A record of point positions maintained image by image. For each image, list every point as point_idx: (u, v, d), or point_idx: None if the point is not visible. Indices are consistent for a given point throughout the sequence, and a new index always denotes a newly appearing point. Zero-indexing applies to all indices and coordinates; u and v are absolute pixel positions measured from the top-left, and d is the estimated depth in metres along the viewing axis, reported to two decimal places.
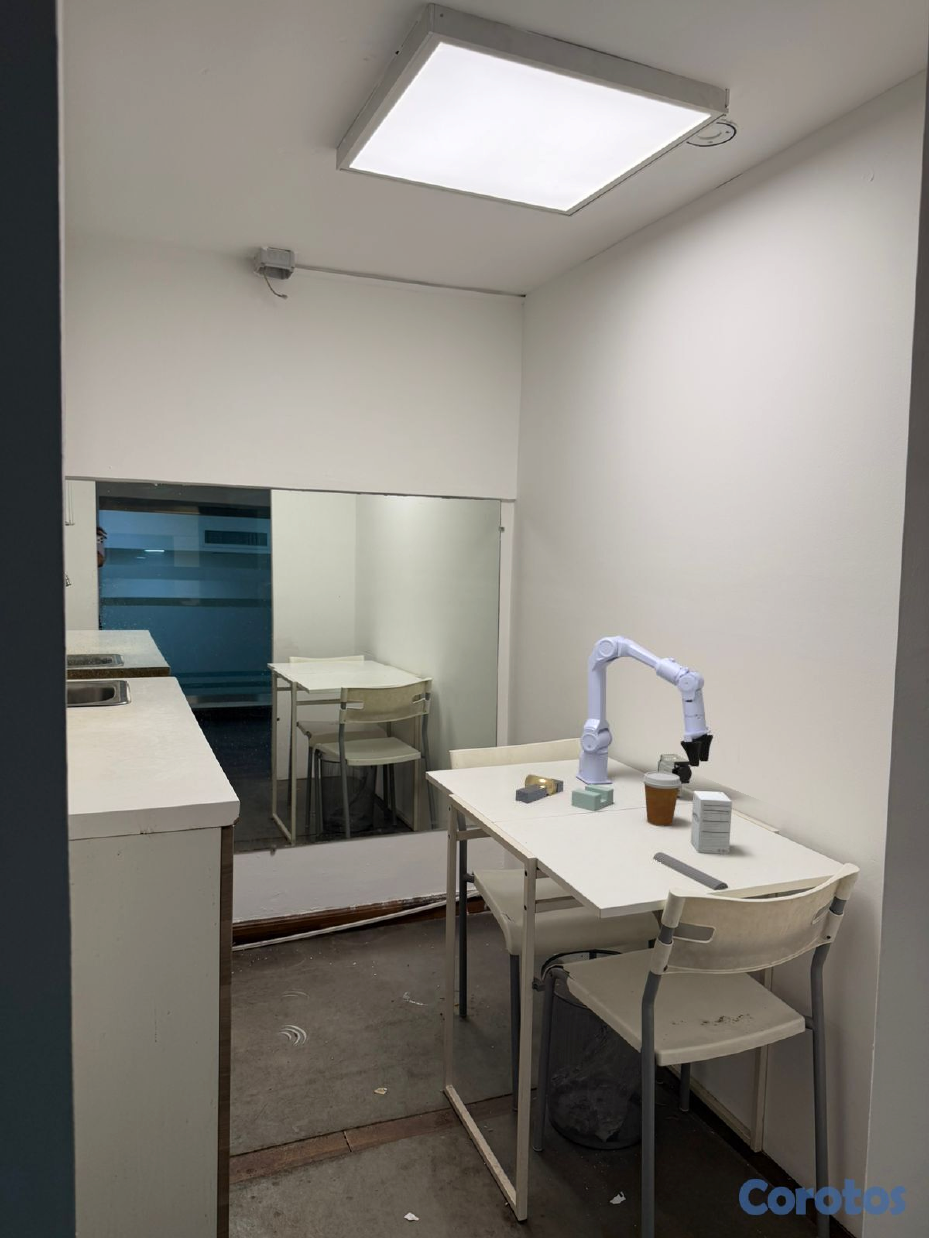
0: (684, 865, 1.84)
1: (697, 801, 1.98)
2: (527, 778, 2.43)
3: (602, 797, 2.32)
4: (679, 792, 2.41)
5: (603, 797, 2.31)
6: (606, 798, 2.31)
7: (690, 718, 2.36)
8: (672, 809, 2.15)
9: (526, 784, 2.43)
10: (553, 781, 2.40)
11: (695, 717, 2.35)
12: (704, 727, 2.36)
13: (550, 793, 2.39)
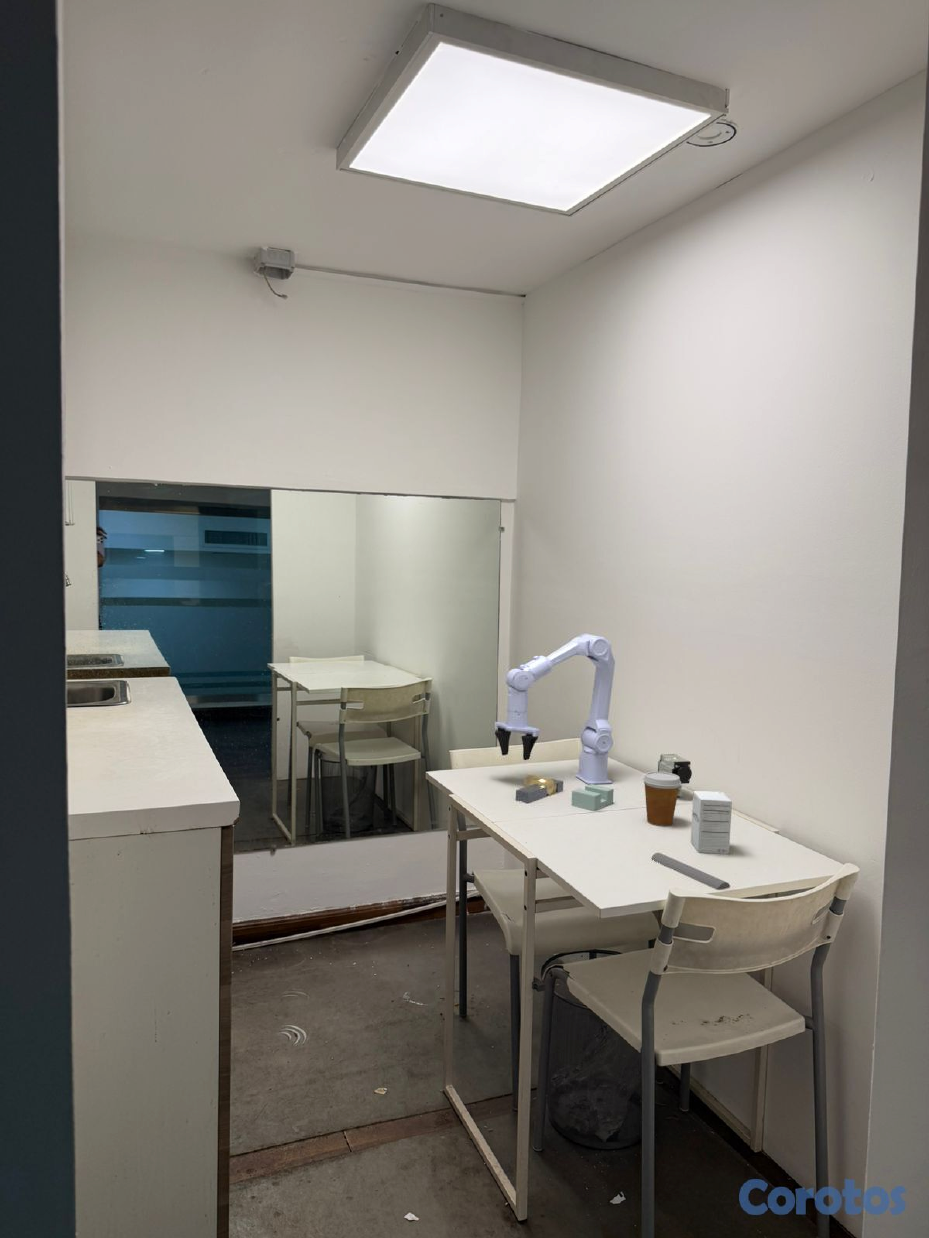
0: (684, 865, 1.84)
1: (697, 801, 1.98)
2: (527, 778, 2.43)
3: (602, 797, 2.32)
4: (679, 792, 2.41)
5: (603, 797, 2.31)
6: (606, 798, 2.31)
7: None
8: (672, 809, 2.15)
9: (526, 784, 2.43)
10: (553, 781, 2.40)
11: None
12: (509, 723, 2.45)
13: (550, 793, 2.39)
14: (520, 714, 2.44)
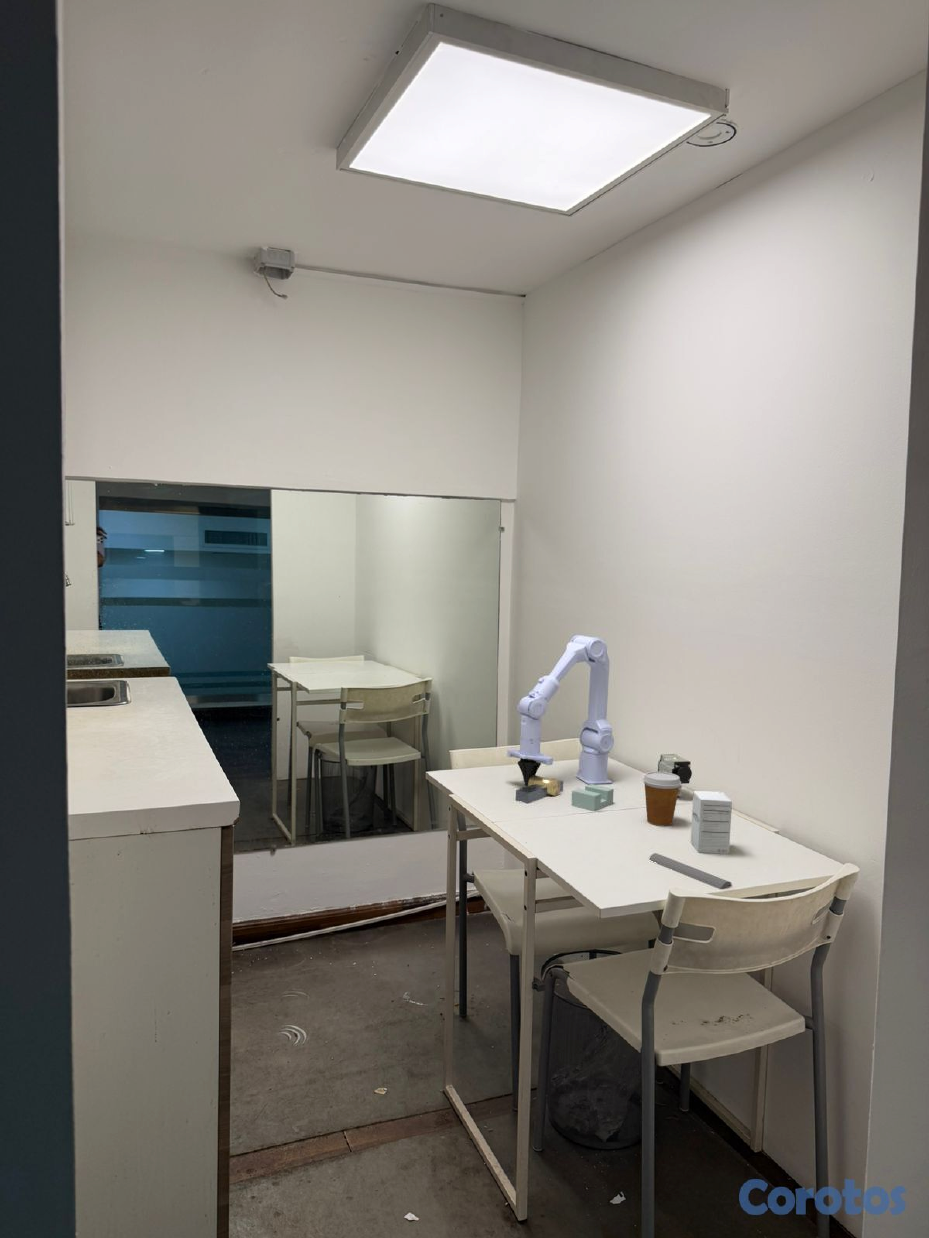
0: (684, 865, 1.84)
1: (697, 801, 1.98)
2: (530, 780, 2.42)
3: (602, 797, 2.32)
4: (679, 792, 2.41)
5: (603, 797, 2.31)
6: (606, 798, 2.31)
7: None
8: (672, 809, 2.15)
9: None
10: (556, 782, 2.39)
11: None
12: (522, 751, 2.43)
13: (554, 794, 2.38)
14: (533, 742, 2.41)
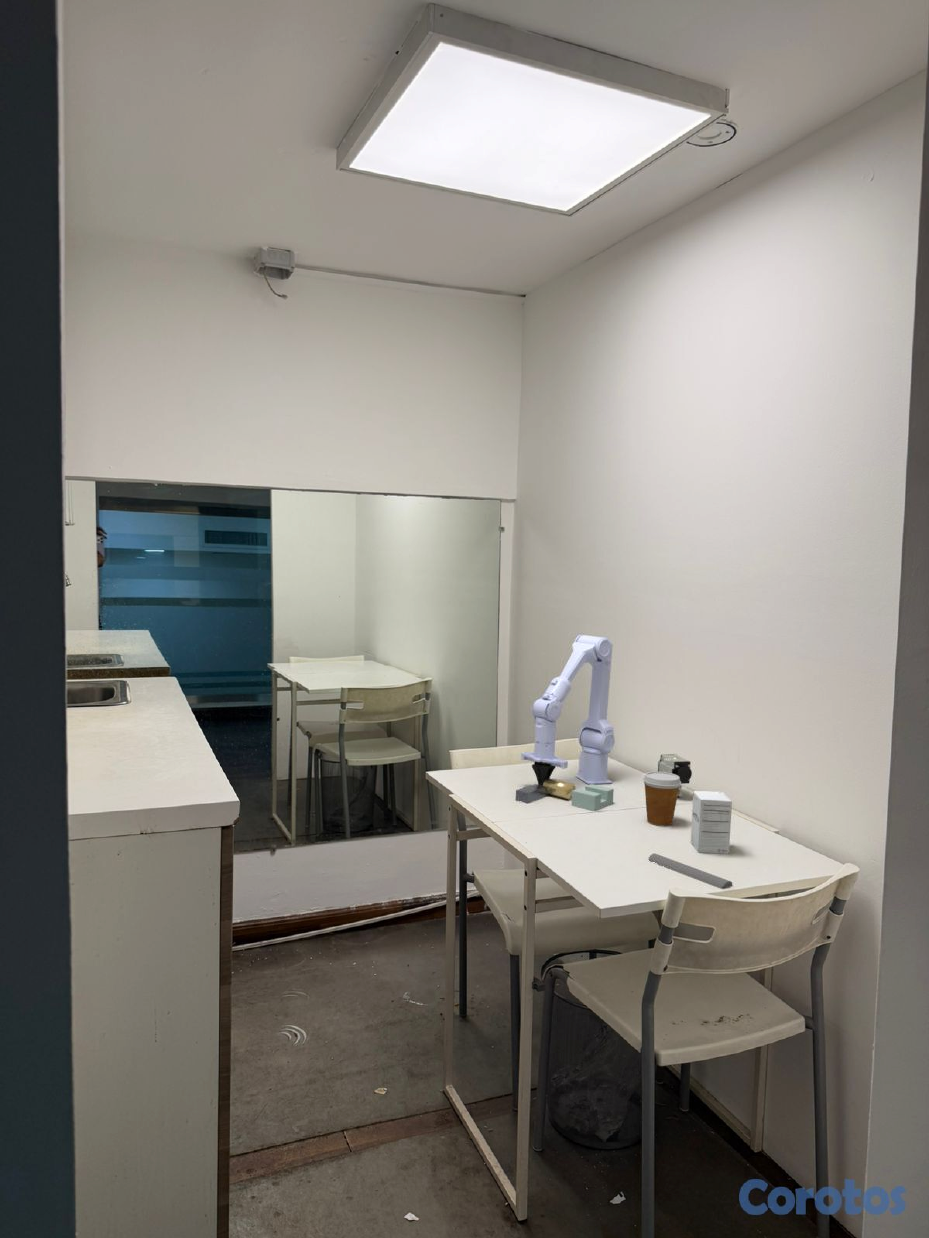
0: (683, 865, 1.84)
1: (697, 801, 1.98)
2: (545, 783, 2.39)
3: (602, 797, 2.32)
4: (679, 792, 2.41)
5: (603, 797, 2.31)
6: (606, 798, 2.31)
7: None
8: (672, 809, 2.15)
9: None
10: (571, 785, 2.35)
11: None
12: (536, 754, 2.39)
13: (569, 798, 2.35)
14: (548, 745, 2.38)
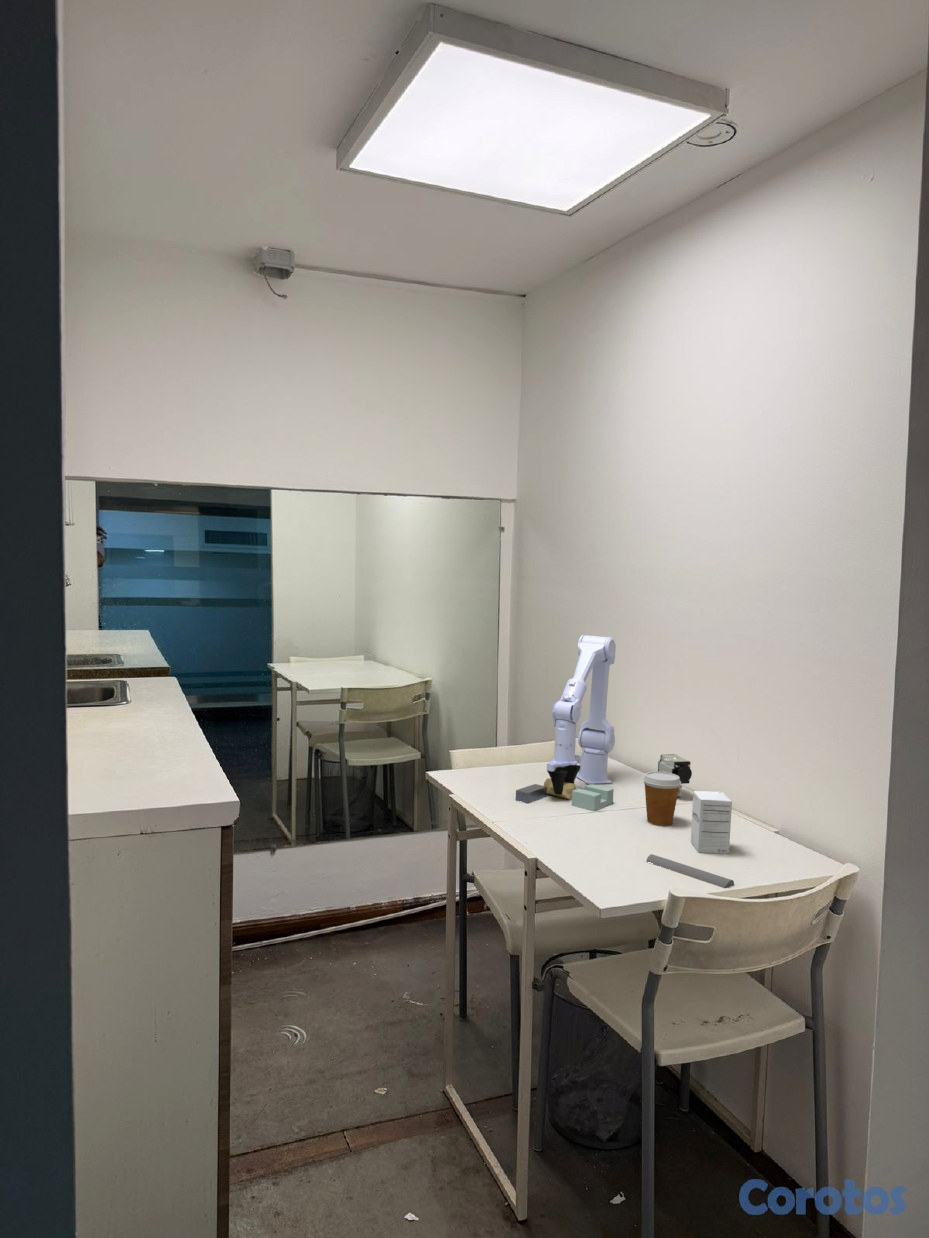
0: (683, 865, 1.84)
1: (697, 801, 1.98)
2: (546, 782, 2.39)
3: (602, 797, 2.32)
4: (679, 792, 2.41)
5: (603, 797, 2.31)
6: (606, 798, 2.31)
7: (558, 747, 2.35)
8: (672, 809, 2.15)
9: None
10: (572, 785, 2.36)
11: (563, 747, 2.34)
12: (571, 758, 2.35)
13: (569, 797, 2.35)
14: None
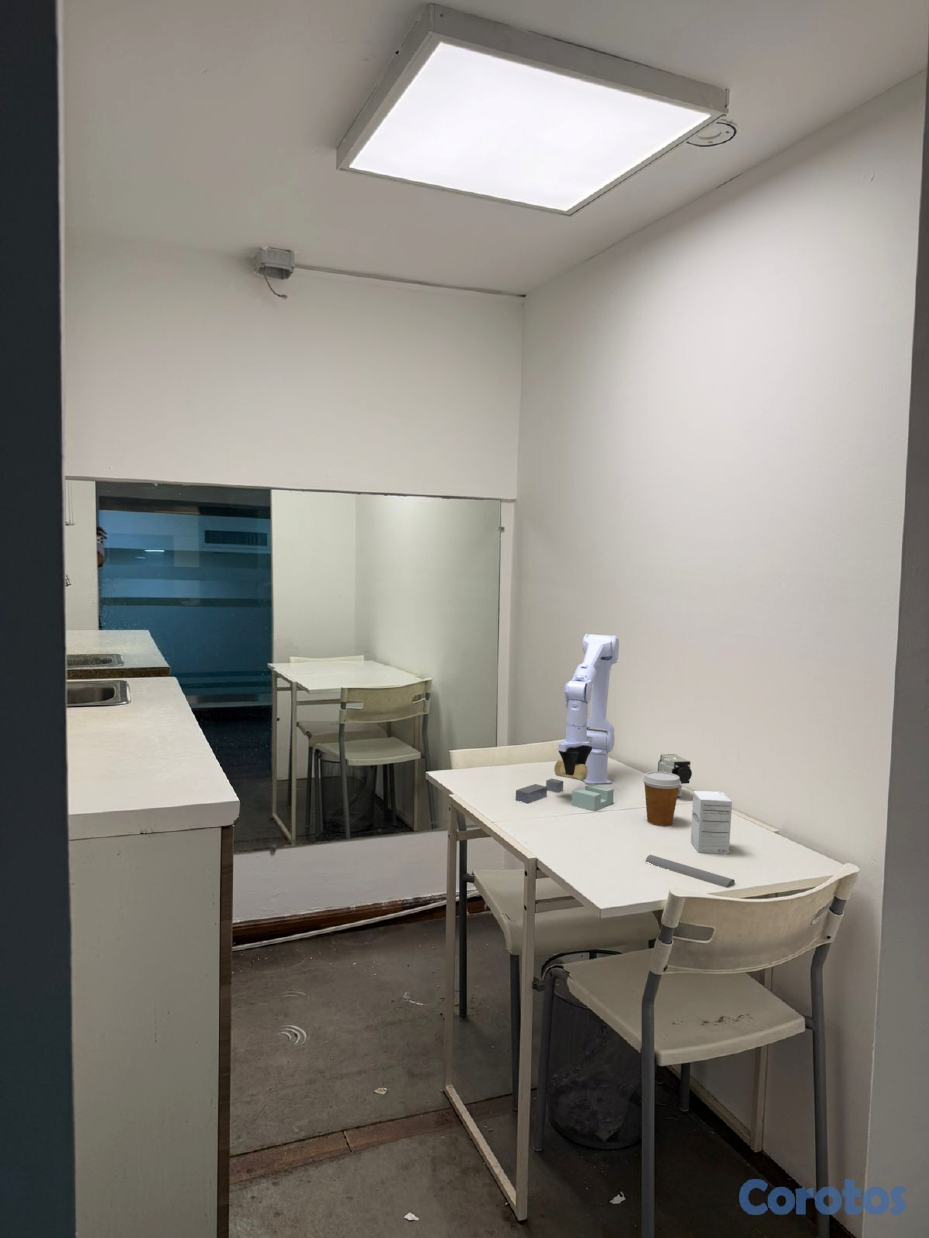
0: (683, 865, 1.84)
1: (697, 801, 1.98)
2: (557, 763, 2.37)
3: (602, 797, 2.32)
4: (679, 792, 2.41)
5: (603, 797, 2.31)
6: (606, 798, 2.31)
7: (570, 727, 2.32)
8: (672, 809, 2.15)
9: (556, 770, 2.36)
10: (584, 766, 2.33)
11: (575, 727, 2.31)
12: (583, 738, 2.32)
13: (581, 778, 2.33)
14: None
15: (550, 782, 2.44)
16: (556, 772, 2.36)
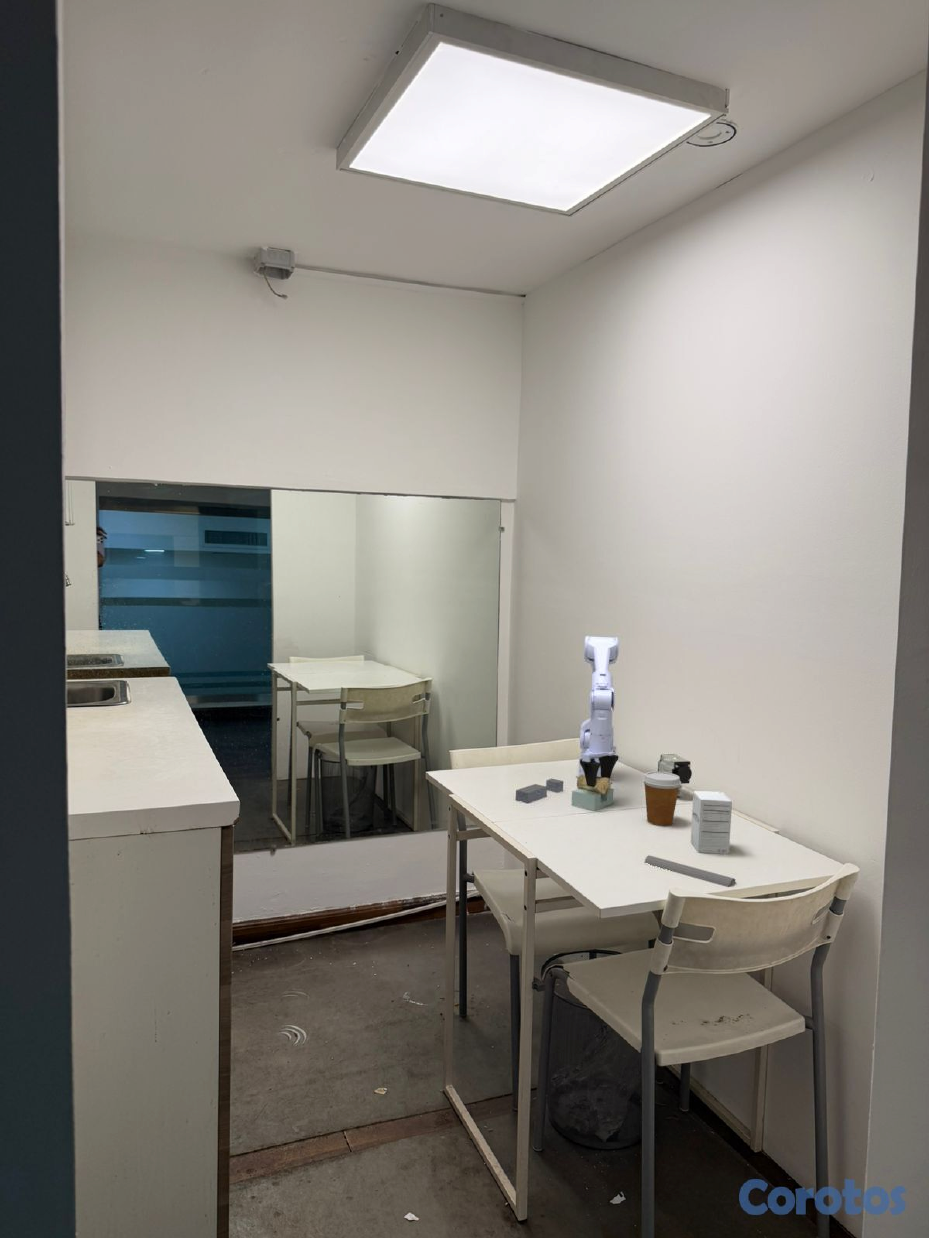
0: (683, 866, 1.84)
1: (697, 801, 1.98)
2: (579, 778, 2.32)
3: (602, 797, 2.32)
4: (679, 792, 2.41)
5: (603, 797, 2.31)
6: (606, 798, 2.31)
7: (594, 737, 2.27)
8: (672, 809, 2.15)
9: (578, 784, 2.32)
10: (607, 779, 2.29)
11: (599, 737, 2.27)
12: (607, 748, 2.27)
13: (604, 792, 2.28)
14: None
15: (550, 782, 2.44)
16: (578, 786, 2.32)
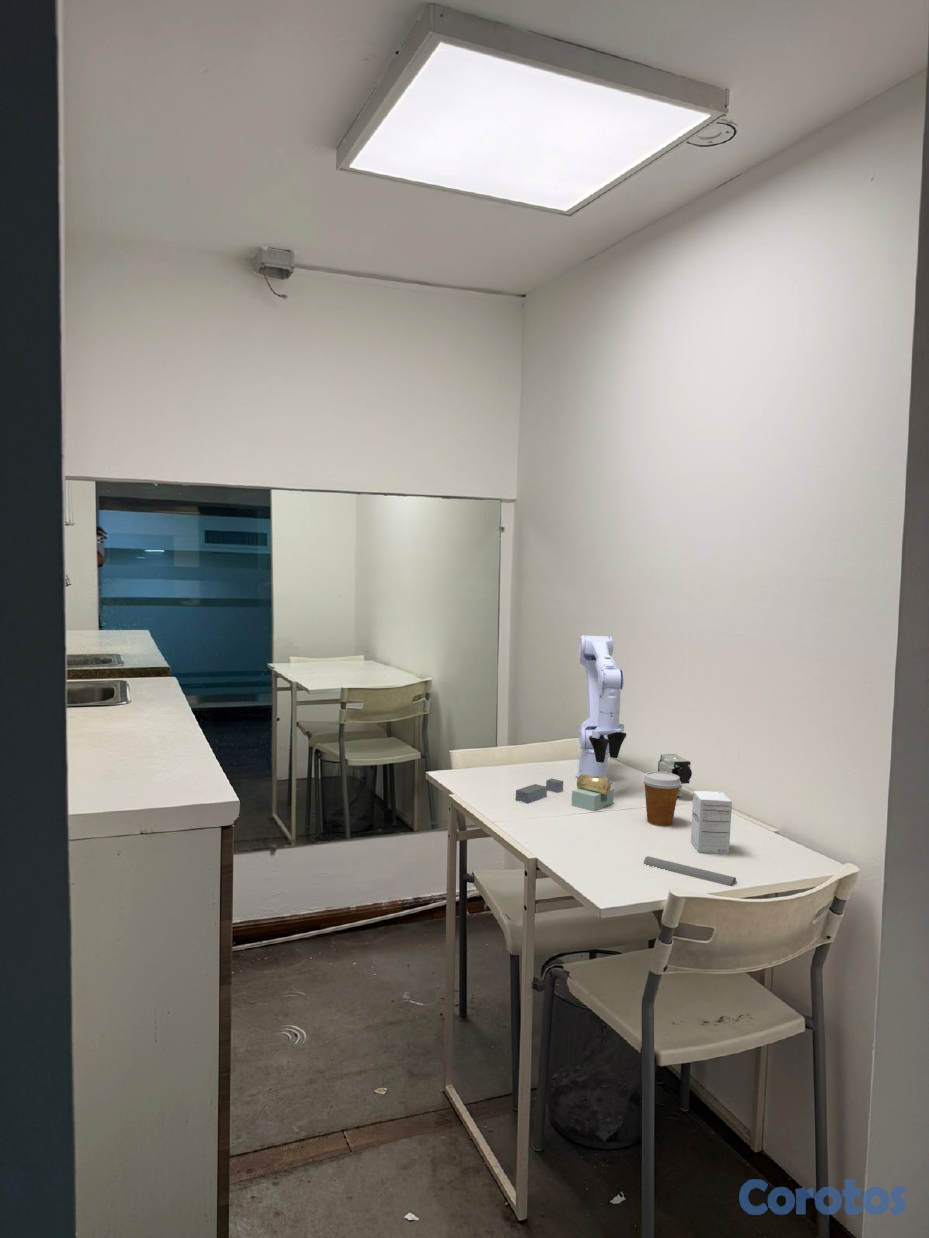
0: (683, 866, 1.84)
1: (697, 801, 1.98)
2: (579, 778, 2.32)
3: (602, 797, 2.32)
4: (679, 792, 2.41)
5: (603, 797, 2.31)
6: (606, 798, 2.31)
7: (603, 715, 2.36)
8: (672, 809, 2.15)
9: (578, 784, 2.32)
10: (607, 779, 2.29)
11: (608, 714, 2.36)
12: (616, 725, 2.36)
13: (604, 792, 2.28)
14: None
15: (550, 782, 2.44)
16: (578, 786, 2.32)
